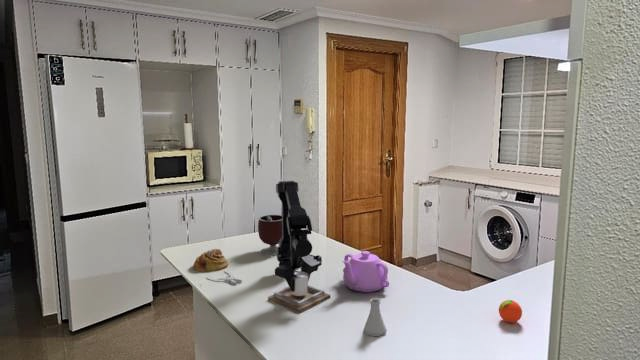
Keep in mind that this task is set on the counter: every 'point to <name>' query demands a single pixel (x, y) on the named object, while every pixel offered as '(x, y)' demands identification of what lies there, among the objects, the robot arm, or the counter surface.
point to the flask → (375, 320)
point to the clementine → (510, 311)
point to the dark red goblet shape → (270, 233)
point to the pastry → (210, 261)
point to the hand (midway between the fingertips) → (299, 288)
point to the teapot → (365, 272)
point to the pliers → (227, 279)
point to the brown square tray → (299, 298)
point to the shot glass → (301, 283)
